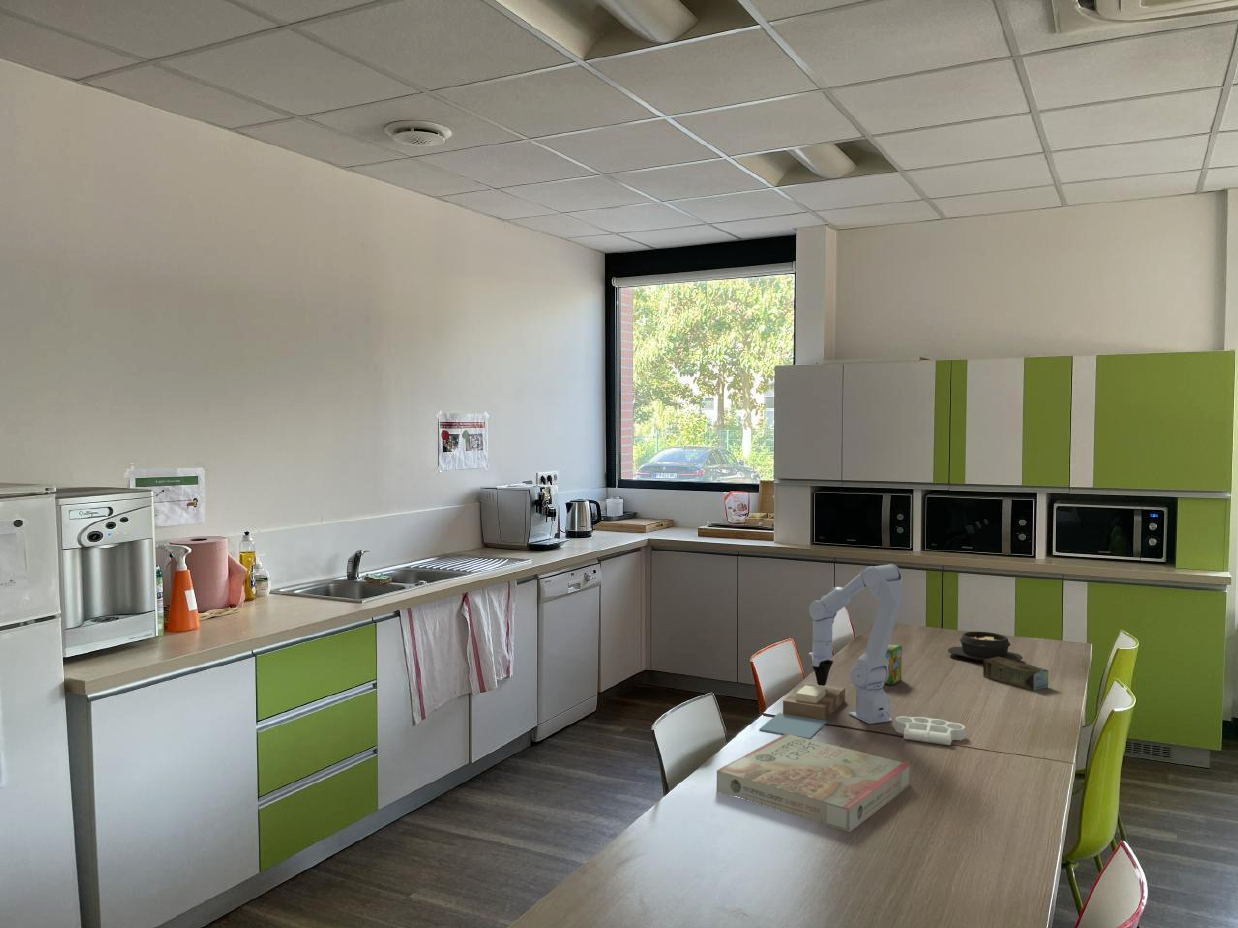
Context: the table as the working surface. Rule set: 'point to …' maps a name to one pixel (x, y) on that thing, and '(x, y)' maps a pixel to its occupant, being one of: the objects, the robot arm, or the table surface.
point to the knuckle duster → (929, 730)
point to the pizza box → (815, 780)
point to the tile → (810, 694)
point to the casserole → (984, 647)
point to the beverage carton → (1015, 673)
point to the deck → (815, 710)
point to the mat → (793, 725)
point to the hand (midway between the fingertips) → (821, 684)
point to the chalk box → (894, 663)
